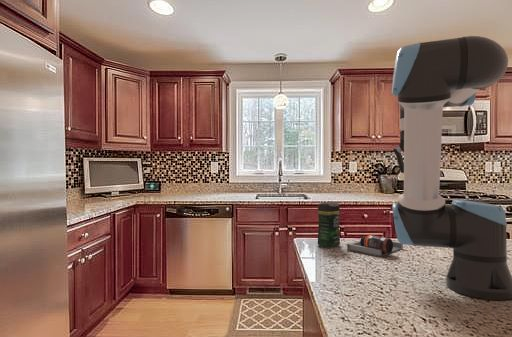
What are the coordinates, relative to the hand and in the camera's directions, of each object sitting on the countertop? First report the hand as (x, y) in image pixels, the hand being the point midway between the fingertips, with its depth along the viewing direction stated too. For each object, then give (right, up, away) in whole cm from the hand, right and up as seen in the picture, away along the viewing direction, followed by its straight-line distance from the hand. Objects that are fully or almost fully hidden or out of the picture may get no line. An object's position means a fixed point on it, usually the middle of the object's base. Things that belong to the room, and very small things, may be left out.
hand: (411, 191), depth 122 cm
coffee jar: (-28, -24, +14) cm, 40 cm away
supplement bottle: (-10, -20, -3) cm, 23 cm away
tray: (-12, -24, +7) cm, 27 cm away
